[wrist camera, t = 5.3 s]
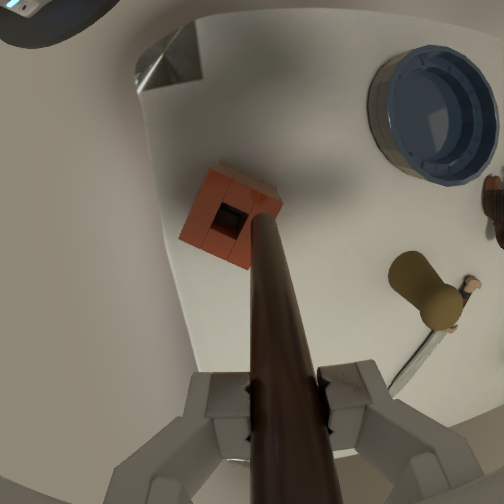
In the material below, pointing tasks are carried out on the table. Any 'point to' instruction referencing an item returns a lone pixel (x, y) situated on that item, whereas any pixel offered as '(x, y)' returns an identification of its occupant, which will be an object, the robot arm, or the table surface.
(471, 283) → the knife
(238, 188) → the holder
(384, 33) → the table surface
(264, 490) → the stick
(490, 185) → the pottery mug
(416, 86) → the bowl
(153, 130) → the table surface
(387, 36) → the table surface
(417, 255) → the pepper shaker
